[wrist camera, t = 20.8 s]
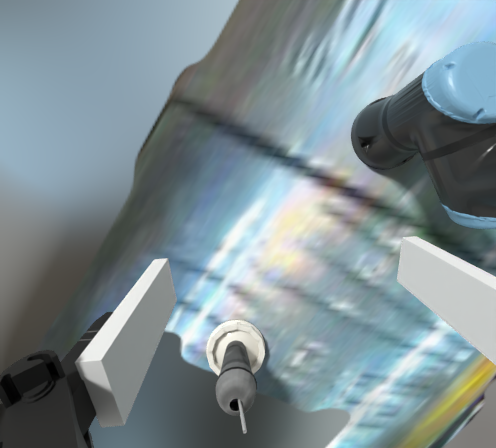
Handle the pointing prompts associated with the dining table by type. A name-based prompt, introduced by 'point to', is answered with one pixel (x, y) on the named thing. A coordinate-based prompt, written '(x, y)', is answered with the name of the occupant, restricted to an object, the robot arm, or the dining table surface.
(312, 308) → the dining table surface
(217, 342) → the plate
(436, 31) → the dining table surface
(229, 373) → the beverage cup
